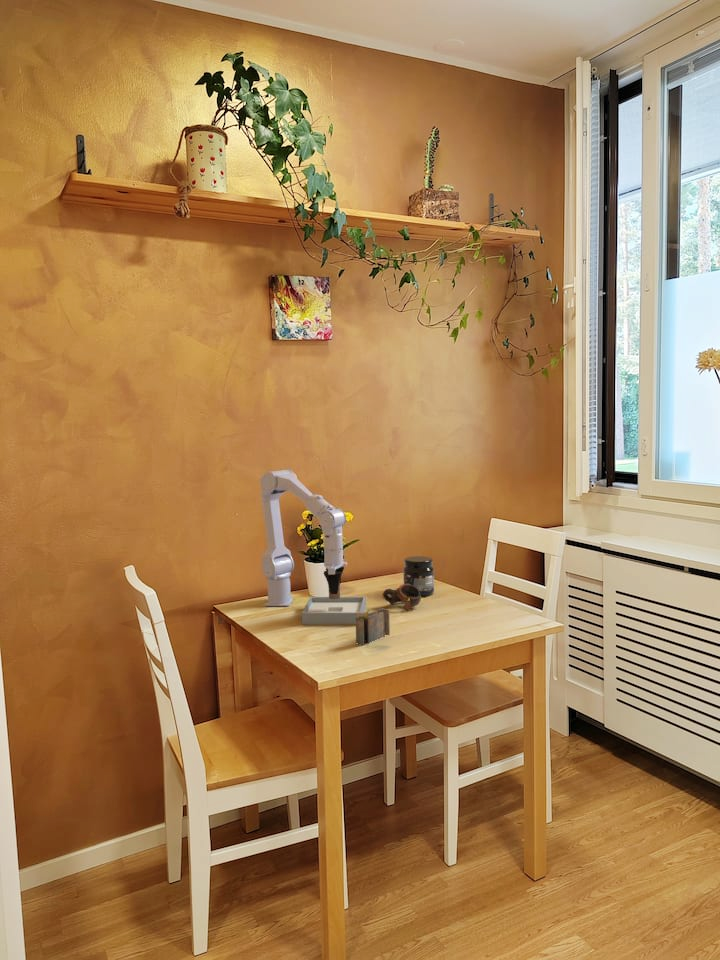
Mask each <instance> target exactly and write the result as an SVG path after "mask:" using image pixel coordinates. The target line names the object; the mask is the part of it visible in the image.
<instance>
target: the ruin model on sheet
mask: <svg viewBox="0 0 720 960" xmlns="http://www.w3.org/2000/svg"><path fill="white" fill-rule="evenodd" d="M390 626H391V625H390V609H386V608H379V609H377V610H374V611H371V612H370V610H367V611H365V612H364V613H362V614H358V615H357V618H356V625H355V641H356V642H355V644H356V643H358V644H357V645H359V644H361V645H360V646H363V645H364V646H365V641H364V640H366V641H367V644H371V643H373V642H376V641H378V640H380V638H381V639H383V638H385V635H388V636H390V635H391V631H390ZM382 637H383V638H382ZM367 639H368V640H367ZM377 639H378V640H377ZM375 640H376V641H375ZM372 641H373V642H372ZM370 642H371V643H370Z"/></svg>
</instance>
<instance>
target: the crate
mask: <svg viewBox="0 0 720 960" xmlns="http://www.w3.org/2000/svg"><path fill="white" fill-rule="evenodd" d="M366 610H367V597H366V596H340V598H339V599H329V596H309V598H308V600H307V602H306V604H305V606H304V608H303V610H302V612H301V625H302V626H304V625H305V626H309V625H310V626H311V625H313V626H315V625H316V626H317V625H320V626H321V625H322V626H323V625H324V626H326V625H328V626H329V625H331V626H333V625H334V626H335V625H339V626H341V625H342V626H343V625H344V626H345V625H348V626H350V624H351V626H352V625H353V626H355V625H354V624H356V618H357V615H358V614H362V613H364V612H366Z"/></svg>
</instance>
